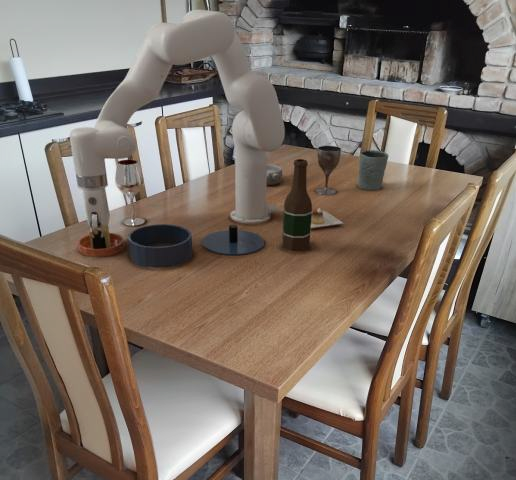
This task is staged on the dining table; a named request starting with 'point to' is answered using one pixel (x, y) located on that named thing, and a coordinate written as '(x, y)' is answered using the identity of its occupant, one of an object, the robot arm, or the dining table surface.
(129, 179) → the wineglass
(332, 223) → the dessert
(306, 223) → the beer bottle
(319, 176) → the dining table surface
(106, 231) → the cheese block
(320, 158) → the wine glass
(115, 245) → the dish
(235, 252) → the lid
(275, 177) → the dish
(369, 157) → the green cup
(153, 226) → the pan
